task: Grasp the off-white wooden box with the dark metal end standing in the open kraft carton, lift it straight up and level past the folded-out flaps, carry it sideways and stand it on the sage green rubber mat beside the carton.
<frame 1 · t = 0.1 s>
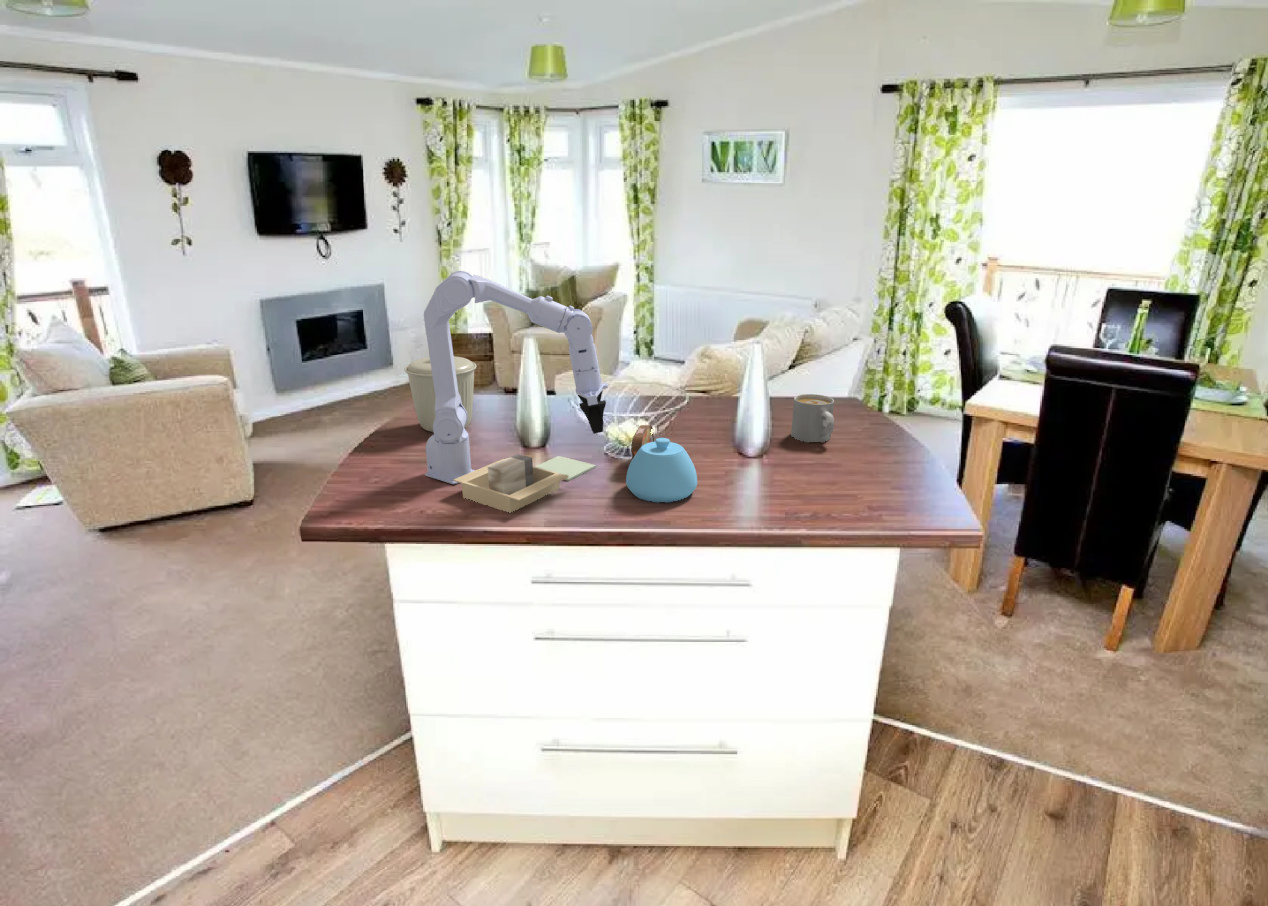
hand: (596, 427, 162), 11 cm above the countertop, tool pointing down, fingers open, 7 cm apart
sugar bowl: (661, 491, 155), on the countertop
mat: (563, 468, 167), on the countertop
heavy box: (511, 477, 152), in the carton
canister: (446, 427, 195), on the countertop
coffee mug: (813, 439, 188), on the countertop
tin: (642, 464, 170), on the countertop
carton: (512, 493, 154), on the countertop
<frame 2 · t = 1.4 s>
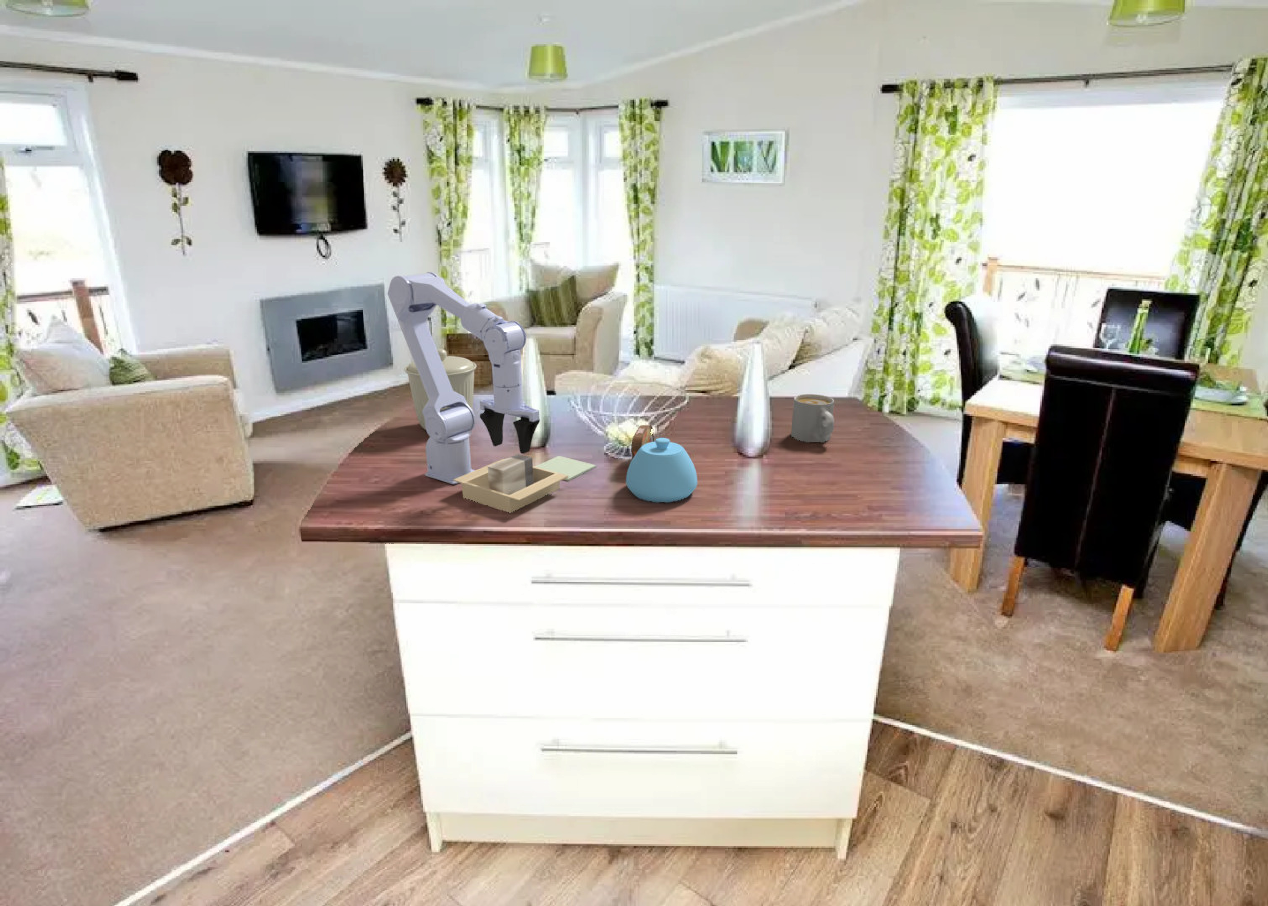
hand: (511, 448, 150), 10 cm above the countertop, tool pointing down, fingers open, 7 cm apart
nothing on the countertop moved.
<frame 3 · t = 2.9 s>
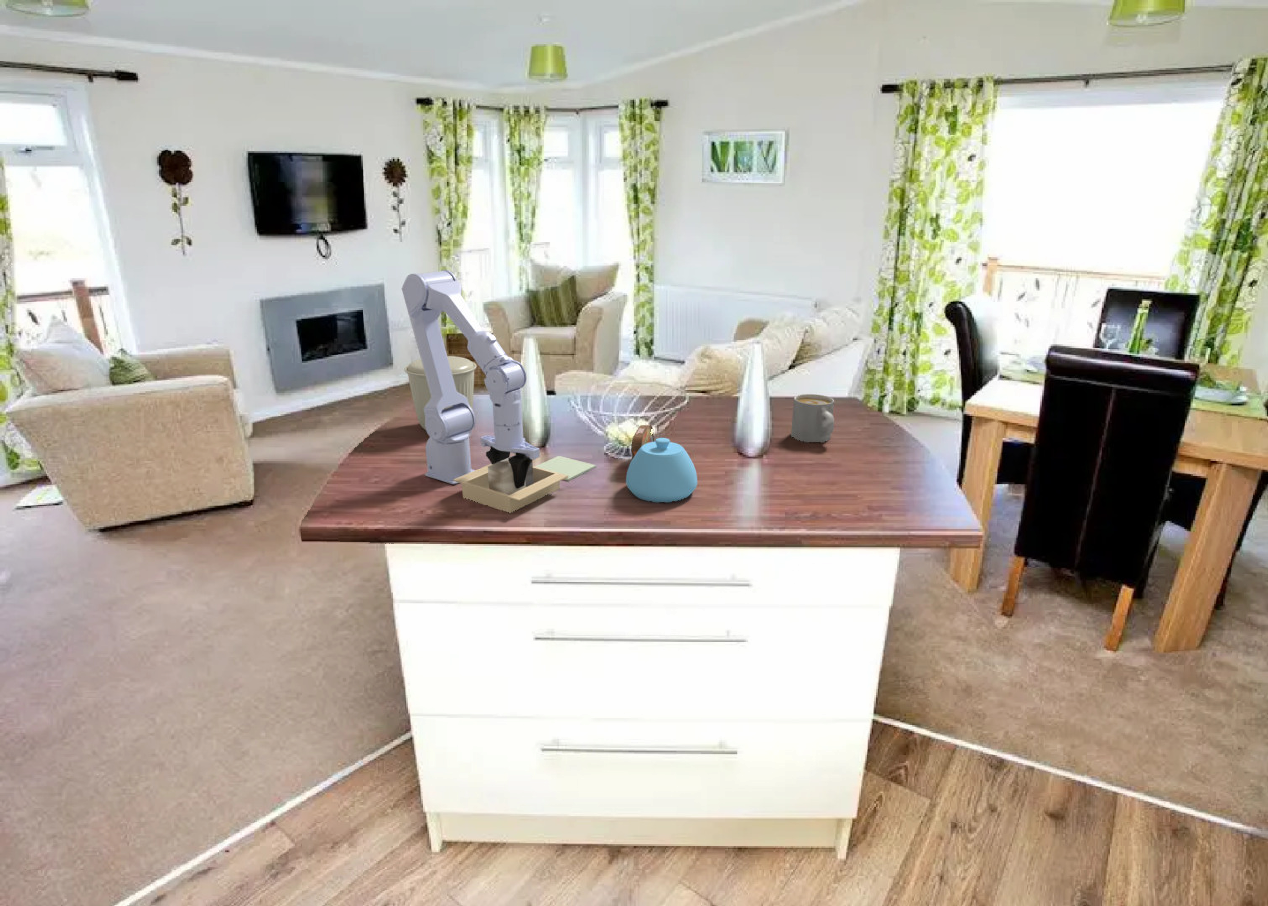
hand: (511, 484, 153), 2 cm above the countertop, tool pointing down, fingers closed on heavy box, 4 cm apart
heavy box: (511, 477, 152), in the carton, touching gripper
everything else where it was.
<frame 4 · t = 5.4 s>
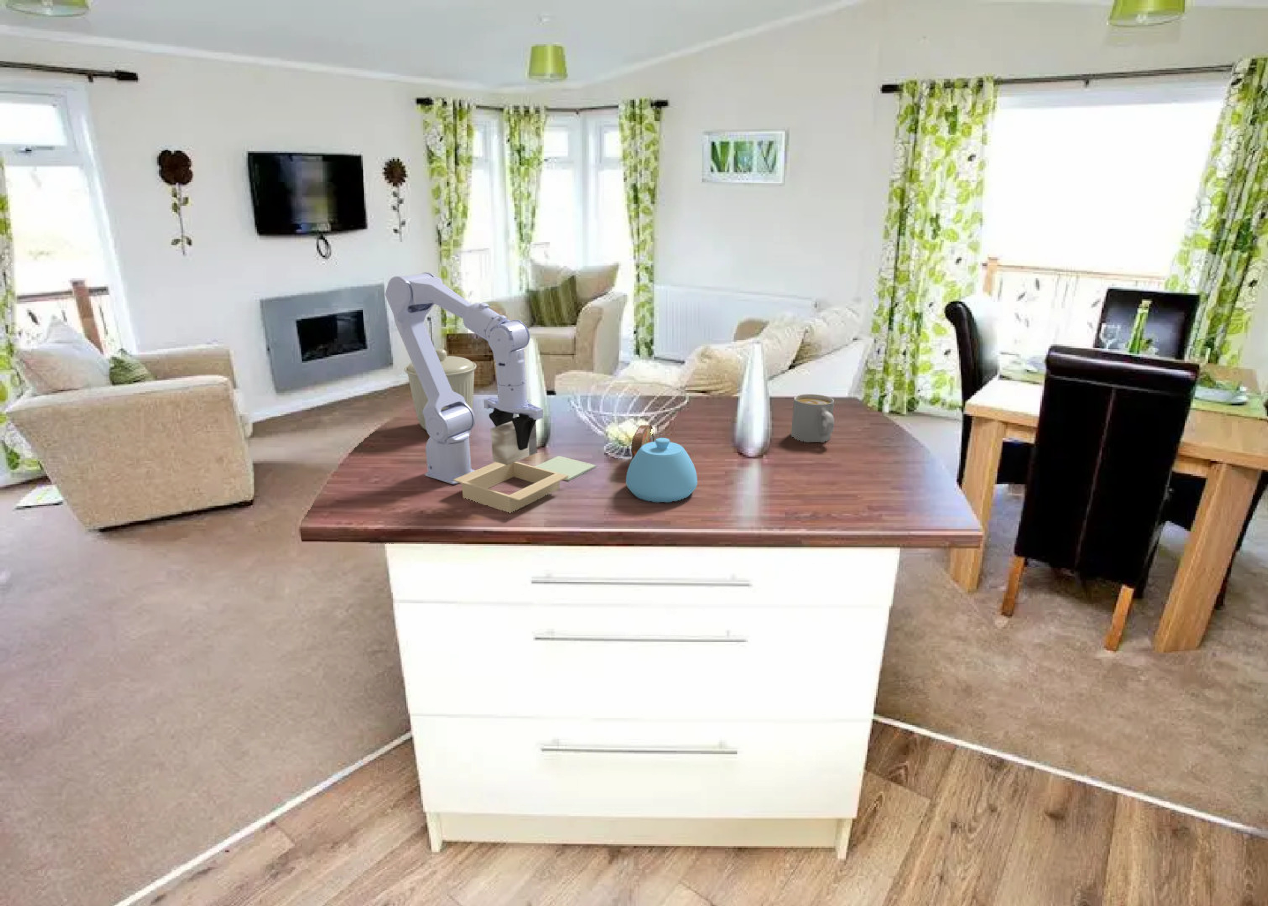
hand: (514, 446, 151), 10 cm above the countertop, tool pointing down, fingers closed on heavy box, 4 cm apart
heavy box: (514, 440, 151), point 11 cm above the countertop, touching gripper
everything else where it was.
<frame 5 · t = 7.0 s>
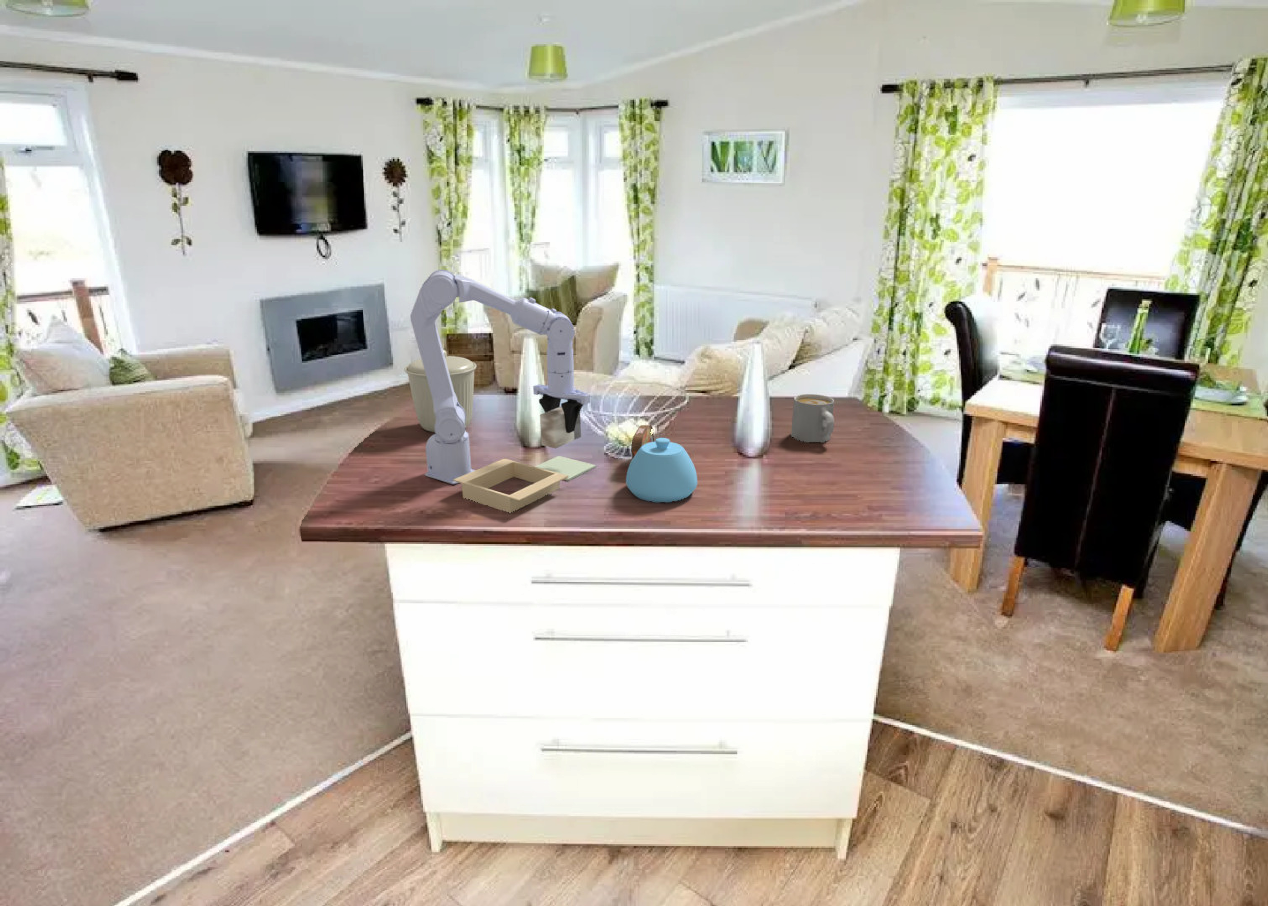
hand: (562, 429, 164), 9 cm above the countertop, tool pointing down, fingers closed on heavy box, 4 cm apart
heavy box: (560, 426, 163), point 10 cm above the countertop, touching gripper
everything else where it was.
when the fingers open (4 cm above the countertop, at t = 8.3 s): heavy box stays where it is, resting on mat.
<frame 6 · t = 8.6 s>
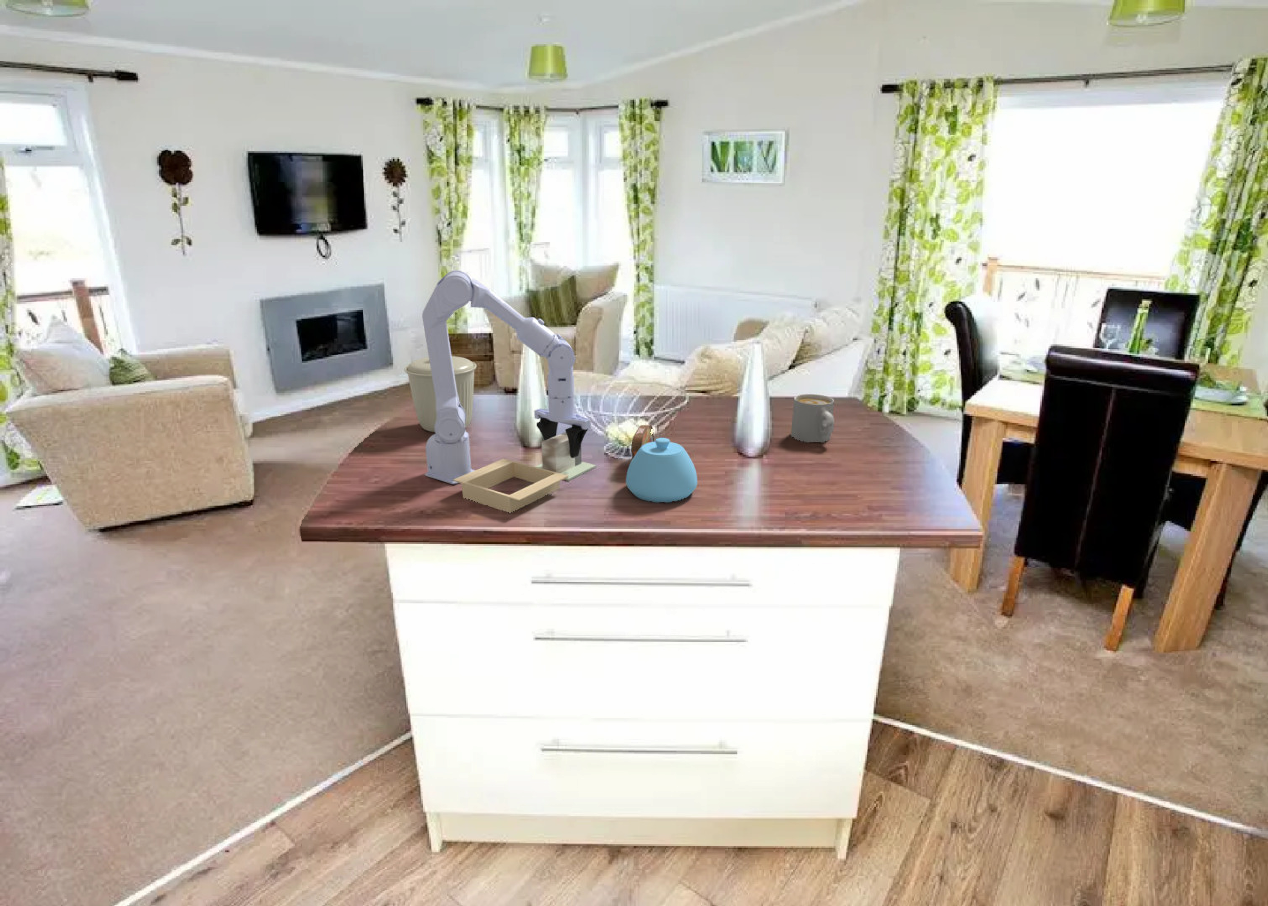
hand: (563, 453, 166), 4 cm above the countertop, tool pointing down, fingers open, 6 cm apart
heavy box: (561, 452, 165), on the mat
everything else where it was.
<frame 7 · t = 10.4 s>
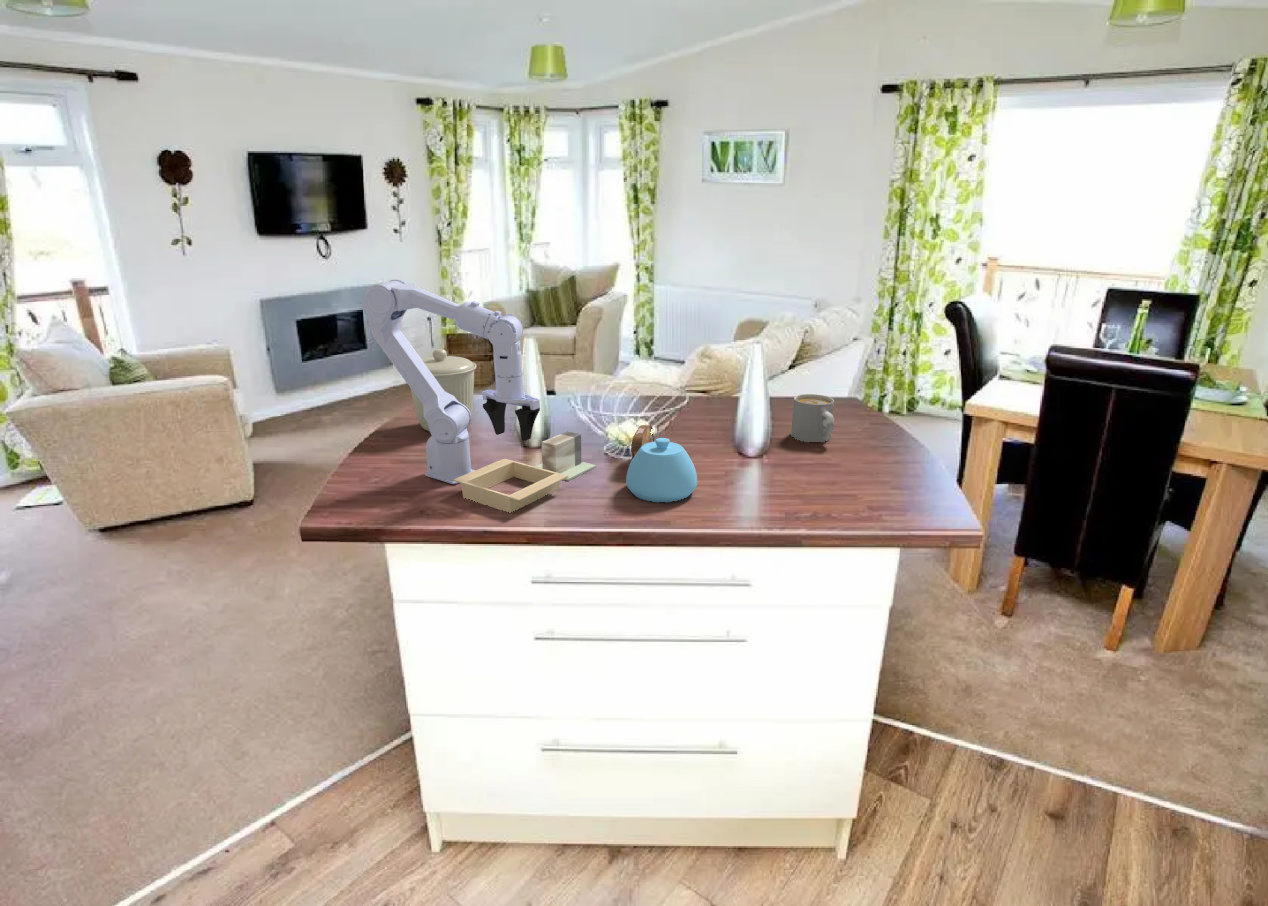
hand: (513, 436, 157), 10 cm above the countertop, tool pointing down, fingers open, 7 cm apart
nothing on the countertop moved.
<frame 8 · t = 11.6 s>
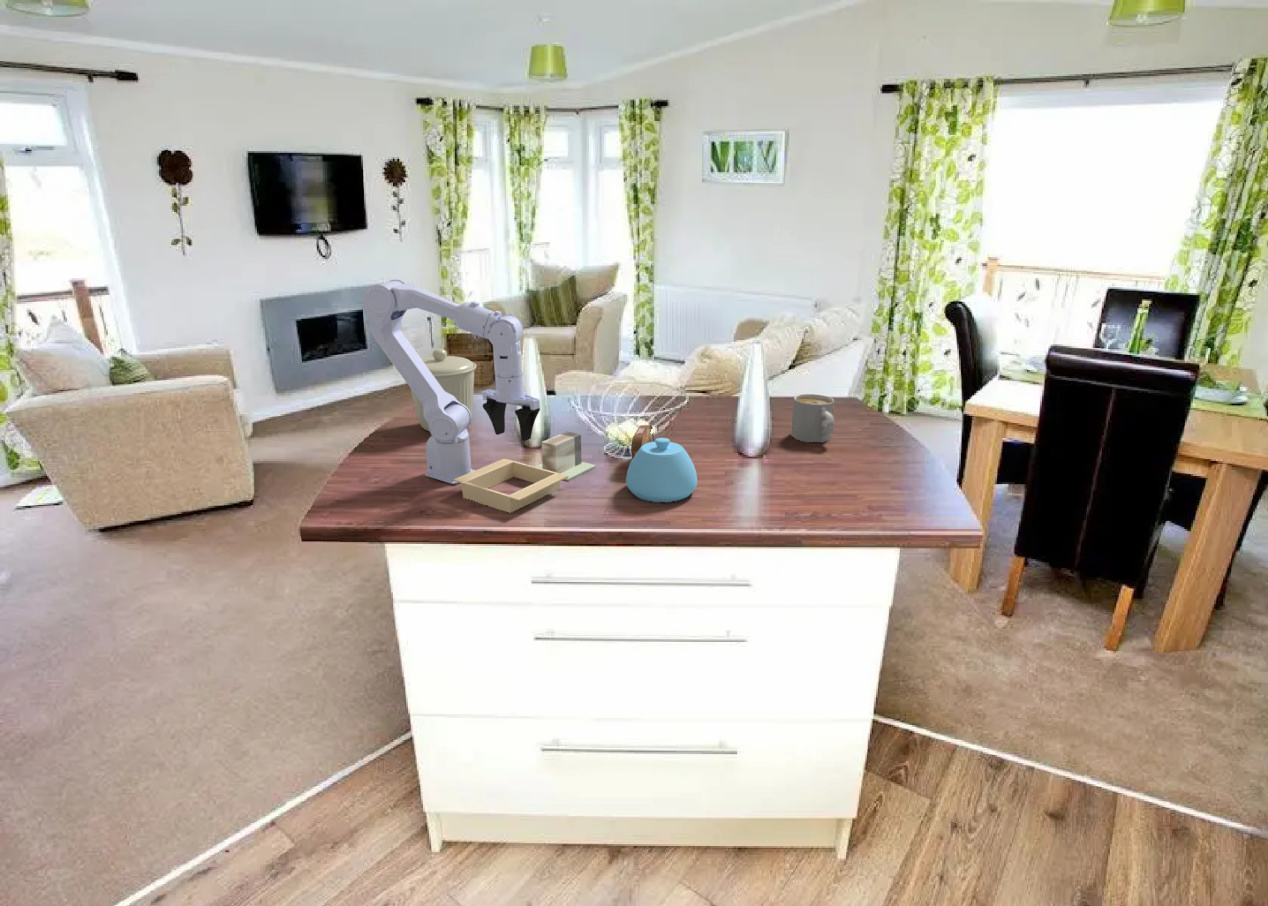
hand: (513, 436, 157), 10 cm above the countertop, tool pointing down, fingers open, 7 cm apart
nothing on the countertop moved.
at the end: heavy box 0.4 cm off-centre on the mat, point 4.0 cm above the mat's base; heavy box tilted 0°; the gripper is holding nothing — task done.
